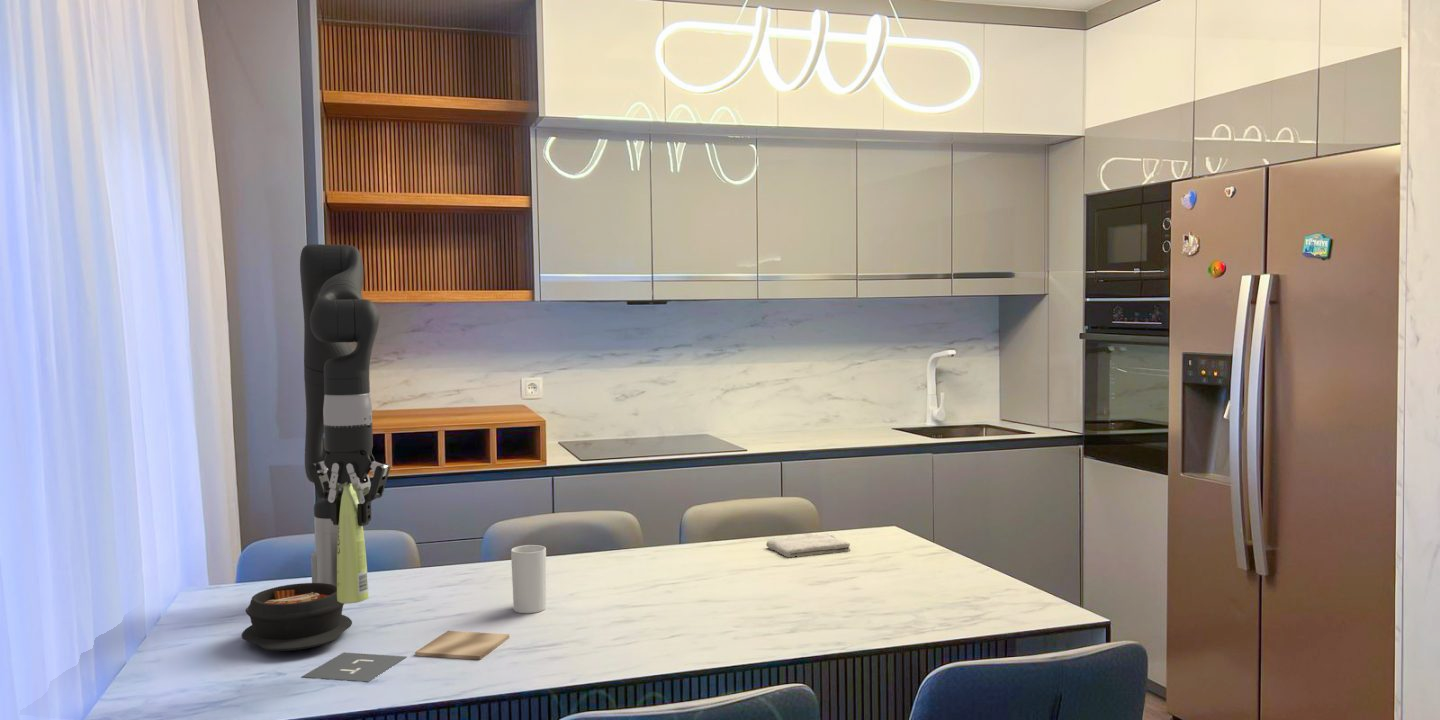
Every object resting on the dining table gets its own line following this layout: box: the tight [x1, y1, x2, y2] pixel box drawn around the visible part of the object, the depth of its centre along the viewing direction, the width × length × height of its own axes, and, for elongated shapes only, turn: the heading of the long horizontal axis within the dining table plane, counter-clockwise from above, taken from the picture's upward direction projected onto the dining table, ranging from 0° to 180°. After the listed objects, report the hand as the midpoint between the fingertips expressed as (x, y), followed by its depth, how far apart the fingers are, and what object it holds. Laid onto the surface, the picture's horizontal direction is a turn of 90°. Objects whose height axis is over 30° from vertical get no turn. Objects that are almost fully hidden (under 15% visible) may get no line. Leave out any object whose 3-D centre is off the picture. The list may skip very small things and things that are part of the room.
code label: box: [300, 652, 408, 683], centre depth 171 cm, size 12×12×1 cm
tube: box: [337, 483, 370, 605], centre depth 170 cm, size 6×5×20 cm
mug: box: [510, 544, 547, 614], centre depth 205 cm, size 10×7×12 cm, turn 9°
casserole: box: [240, 582, 353, 652], centre depth 187 cm, size 25×19×8 cm
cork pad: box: [414, 630, 511, 661], centre depth 181 cm, size 12×12×1 cm
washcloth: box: [765, 533, 851, 558], centre depth 251 cm, size 12×18×3 cm, turn 113°
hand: (351, 524), depth 170 cm, fingers closed on tube, 4 cm apart
